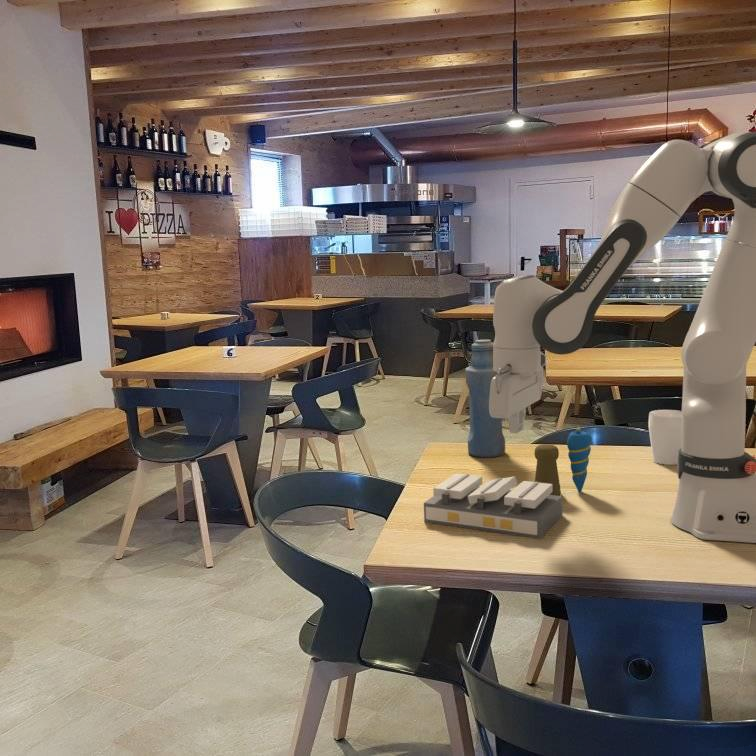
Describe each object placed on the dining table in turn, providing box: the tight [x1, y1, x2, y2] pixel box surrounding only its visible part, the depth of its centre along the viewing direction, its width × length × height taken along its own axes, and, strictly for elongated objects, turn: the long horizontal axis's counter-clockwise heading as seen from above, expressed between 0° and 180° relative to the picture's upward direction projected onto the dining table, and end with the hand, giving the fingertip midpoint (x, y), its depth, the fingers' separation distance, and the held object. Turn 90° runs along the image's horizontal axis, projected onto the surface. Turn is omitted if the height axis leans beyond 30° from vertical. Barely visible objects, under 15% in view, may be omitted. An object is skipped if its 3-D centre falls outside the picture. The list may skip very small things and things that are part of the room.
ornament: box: [566, 425, 592, 493], centre depth 174 cm, size 5×5×15 cm
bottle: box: [464, 339, 506, 459], centre depth 207 cm, size 10×10×30 cm
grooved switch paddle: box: [432, 473, 483, 499], centre depth 163 cm, size 6×11×2 cm, turn 150°
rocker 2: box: [504, 480, 552, 509], centre depth 156 cm, size 6×11×2 cm, turn 150°
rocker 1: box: [468, 475, 517, 504], centre depth 160 cm, size 6×11×2 cm, turn 150°
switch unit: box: [423, 485, 563, 540], centre depth 160 cm, size 24×14×6 cm, turn 60°
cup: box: [647, 409, 682, 466], centre depth 194 cm, size 9×9×12 cm
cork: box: [533, 443, 562, 496], centre depth 173 cm, size 6×6×11 cm
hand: (516, 431), depth 155 cm, fingers closed
